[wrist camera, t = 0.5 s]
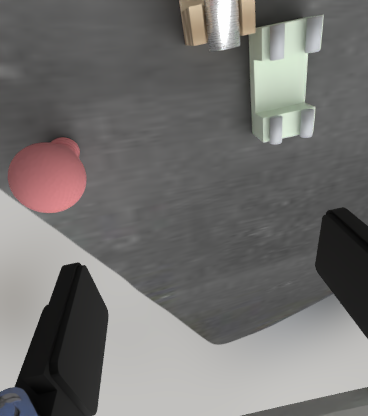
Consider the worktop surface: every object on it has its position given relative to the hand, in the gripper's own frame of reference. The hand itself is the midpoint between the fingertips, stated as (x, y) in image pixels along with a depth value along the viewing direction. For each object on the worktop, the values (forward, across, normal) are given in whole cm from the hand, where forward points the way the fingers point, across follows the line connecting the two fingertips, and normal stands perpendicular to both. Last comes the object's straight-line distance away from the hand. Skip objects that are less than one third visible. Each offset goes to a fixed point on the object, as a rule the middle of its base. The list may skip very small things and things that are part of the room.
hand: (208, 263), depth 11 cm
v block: (+27, -14, -1) cm, 31 cm away
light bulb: (+28, +13, +3) cm, 31 cm away
